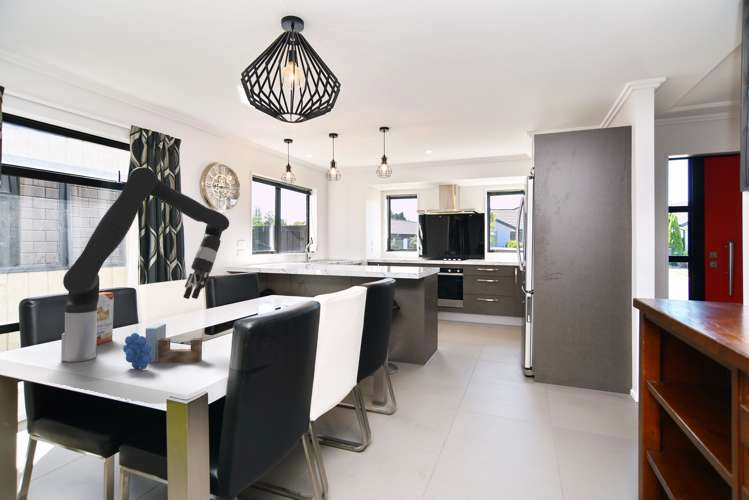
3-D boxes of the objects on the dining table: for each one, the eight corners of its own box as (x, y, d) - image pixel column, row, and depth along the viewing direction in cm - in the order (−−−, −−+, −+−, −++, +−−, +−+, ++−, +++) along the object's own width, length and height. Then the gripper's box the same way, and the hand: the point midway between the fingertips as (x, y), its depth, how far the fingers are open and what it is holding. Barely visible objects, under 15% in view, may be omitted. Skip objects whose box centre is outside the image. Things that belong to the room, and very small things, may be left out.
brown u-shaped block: (157, 362, 136) (158, 340, 136) (161, 360, 139) (161, 338, 139) (199, 362, 138) (199, 340, 138) (201, 359, 141) (202, 338, 141)
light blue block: (145, 362, 137) (145, 328, 137) (155, 355, 145) (156, 323, 145) (155, 361, 137) (156, 328, 137) (165, 355, 146) (166, 323, 146)
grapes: (111, 370, 127) (112, 334, 127) (130, 364, 133) (131, 330, 133) (138, 374, 123) (139, 337, 123) (156, 368, 130) (157, 333, 130)
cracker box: (83, 348, 152) (84, 296, 152) (70, 347, 154) (71, 295, 154) (113, 340, 166) (114, 292, 166) (102, 339, 167) (103, 291, 167)
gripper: (188, 258, 159) (174, 295, 154) (202, 255, 149) (187, 295, 144) (206, 264, 164) (192, 301, 158) (220, 262, 154) (206, 301, 149)
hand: (190, 298), depth 151 cm, fingers open, 8 cm apart
